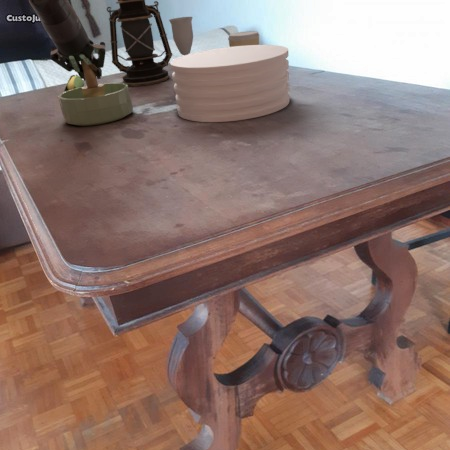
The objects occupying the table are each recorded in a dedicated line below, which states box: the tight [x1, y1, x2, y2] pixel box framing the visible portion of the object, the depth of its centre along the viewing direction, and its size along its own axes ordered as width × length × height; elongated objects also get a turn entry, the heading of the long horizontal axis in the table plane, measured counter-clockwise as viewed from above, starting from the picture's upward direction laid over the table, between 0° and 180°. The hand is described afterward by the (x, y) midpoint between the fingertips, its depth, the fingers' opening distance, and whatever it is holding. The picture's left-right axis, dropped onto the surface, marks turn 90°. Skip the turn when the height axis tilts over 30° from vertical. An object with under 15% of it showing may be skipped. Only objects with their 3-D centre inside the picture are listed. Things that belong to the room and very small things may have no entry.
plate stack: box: [169, 44, 290, 123], centre depth 115 cm, size 28×28×12 cm
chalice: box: [168, 16, 194, 56], centre depth 139 cm, size 7×7×18 cm
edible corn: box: [63, 74, 85, 92], centre depth 152 cm, size 5×20×5 cm, turn 9°
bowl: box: [57, 82, 134, 127], centre depth 122 cm, size 18×18×6 cm
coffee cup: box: [227, 30, 260, 47], centre depth 143 cm, size 9×9×12 cm
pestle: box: [80, 61, 106, 98], centre depth 118 cm, size 6×6×11 cm
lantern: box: [106, 0, 174, 87], centre depth 151 cm, size 20×16×30 cm
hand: (92, 76), depth 120 cm, fingers closed on pestle, 3 cm apart
